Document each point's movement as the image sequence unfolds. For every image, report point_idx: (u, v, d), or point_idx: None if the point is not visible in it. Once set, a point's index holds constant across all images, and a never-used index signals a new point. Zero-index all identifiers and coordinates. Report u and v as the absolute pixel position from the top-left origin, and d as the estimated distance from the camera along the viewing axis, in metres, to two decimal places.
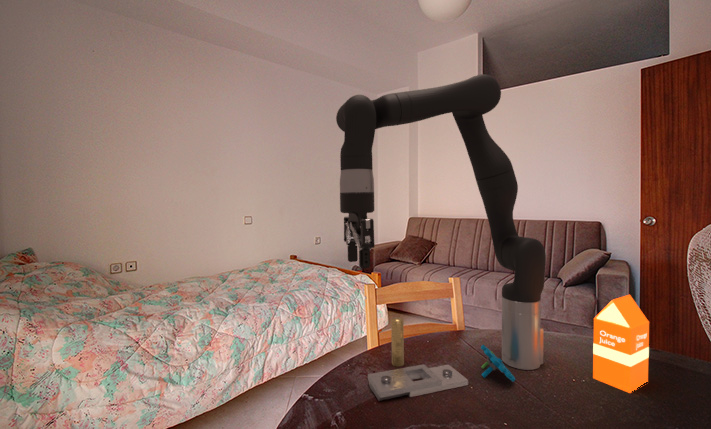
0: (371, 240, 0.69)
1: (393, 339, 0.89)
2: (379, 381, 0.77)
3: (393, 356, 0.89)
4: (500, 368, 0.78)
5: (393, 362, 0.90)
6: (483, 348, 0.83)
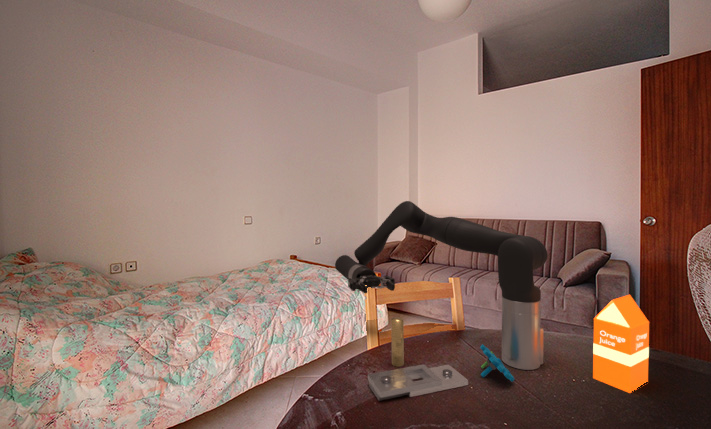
0: None
1: (393, 339, 0.89)
2: (379, 381, 0.77)
3: (393, 356, 0.89)
4: (499, 368, 0.78)
5: (393, 362, 0.90)
6: (482, 348, 0.83)
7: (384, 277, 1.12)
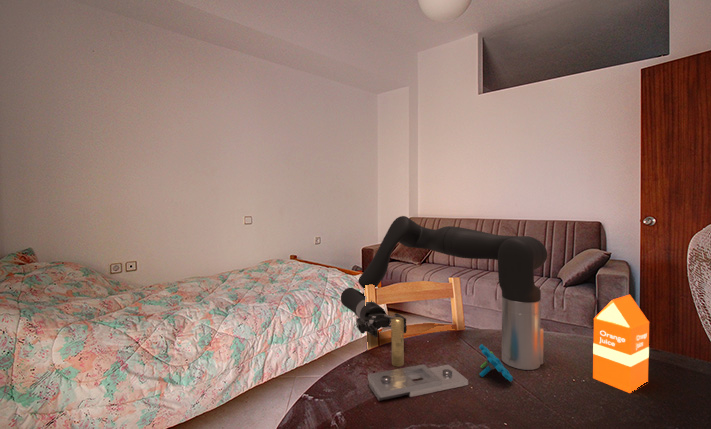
0: None
1: (393, 339, 0.89)
2: (379, 381, 0.77)
3: (393, 356, 0.89)
4: (497, 368, 0.78)
5: (393, 362, 0.90)
6: (481, 347, 0.83)
7: None
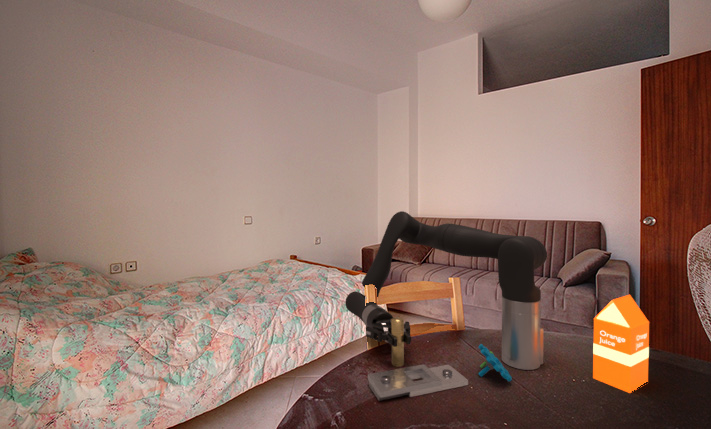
0: None
1: None
2: (379, 381, 0.77)
3: (393, 356, 0.89)
4: (495, 367, 0.78)
5: (393, 362, 0.90)
6: (480, 347, 0.84)
7: None
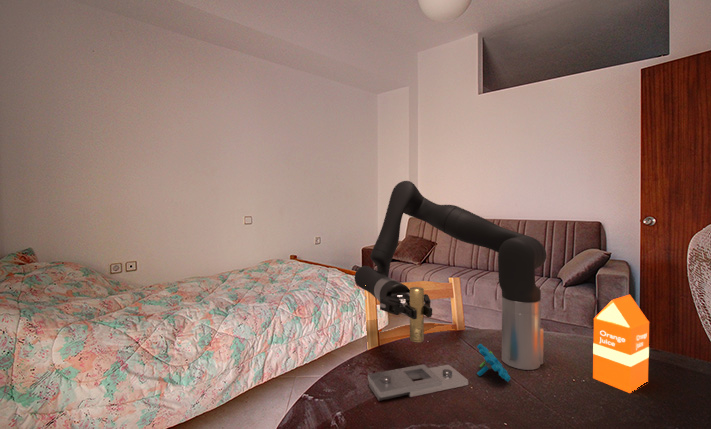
0: None
1: None
2: (379, 381, 0.77)
3: (412, 331, 0.79)
4: (493, 367, 0.79)
5: (412, 337, 0.79)
6: (479, 347, 0.84)
7: None
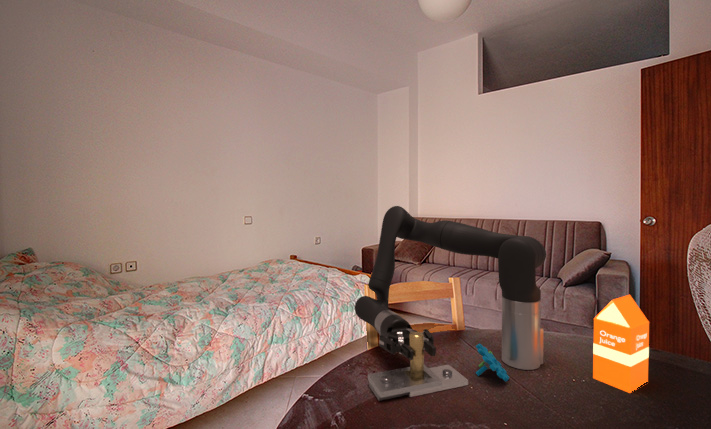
0: None
1: None
2: (379, 381, 0.77)
3: (412, 376, 0.79)
4: (491, 367, 0.79)
5: None
6: (477, 346, 0.84)
7: (423, 331, 0.88)
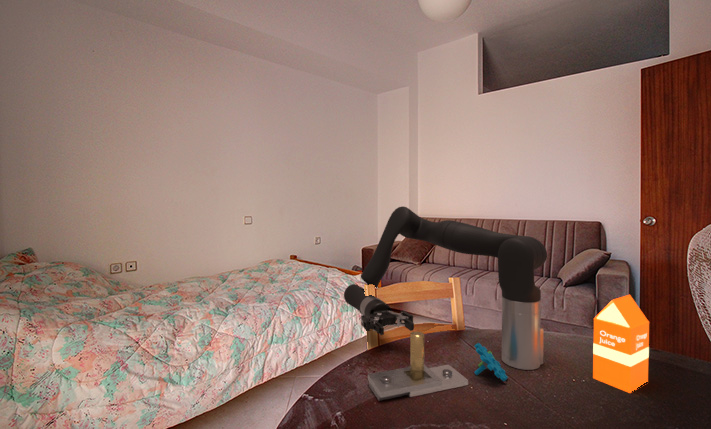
0: None
1: (412, 357, 0.79)
2: (379, 381, 0.77)
3: (412, 376, 0.79)
4: (489, 366, 0.79)
5: None
6: (476, 346, 0.84)
7: None
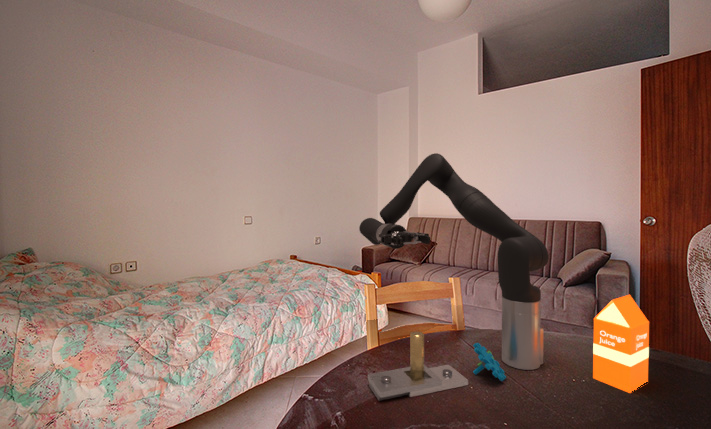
0: None
1: (412, 357, 0.79)
2: (379, 381, 0.77)
3: (412, 376, 0.79)
4: (486, 366, 0.79)
5: None
6: (475, 345, 0.85)
7: None
